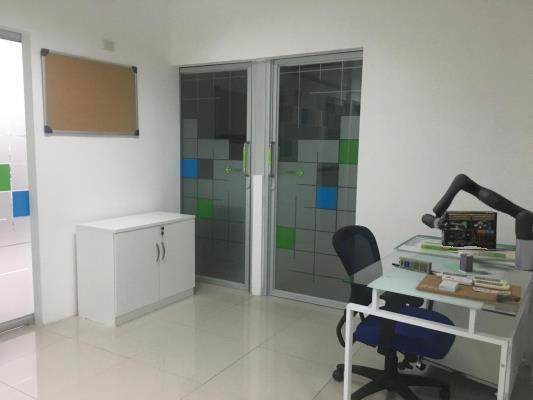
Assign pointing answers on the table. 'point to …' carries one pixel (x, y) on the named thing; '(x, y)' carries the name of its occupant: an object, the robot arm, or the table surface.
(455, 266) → the pale green flat block
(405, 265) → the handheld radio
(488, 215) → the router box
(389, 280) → the table surface
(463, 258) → the block
